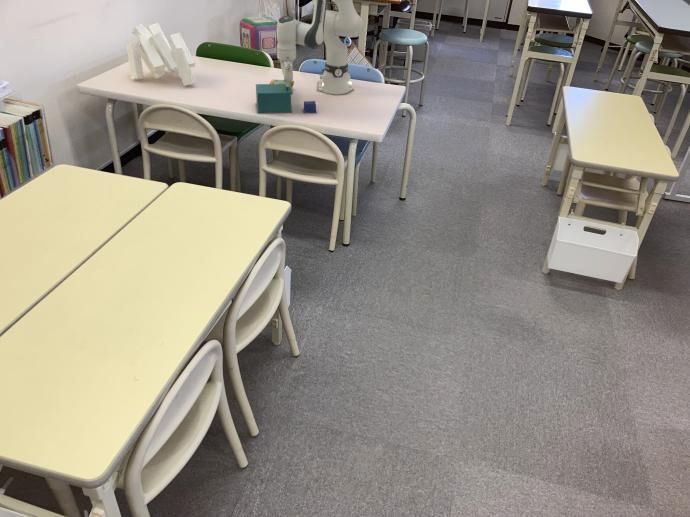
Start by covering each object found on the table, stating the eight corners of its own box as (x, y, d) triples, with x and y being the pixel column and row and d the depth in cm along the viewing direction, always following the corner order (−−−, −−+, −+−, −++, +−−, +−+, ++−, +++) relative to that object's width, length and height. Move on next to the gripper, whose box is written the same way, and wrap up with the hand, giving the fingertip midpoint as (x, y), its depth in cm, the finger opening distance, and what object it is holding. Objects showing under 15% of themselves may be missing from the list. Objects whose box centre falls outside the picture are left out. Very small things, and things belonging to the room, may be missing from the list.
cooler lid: (289, 85, 270) (289, 75, 267) (292, 94, 260) (292, 83, 257) (255, 85, 267) (255, 75, 264) (257, 95, 257) (257, 84, 254)
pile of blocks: (208, 85, 304) (189, 19, 297) (193, 80, 275) (172, 7, 268) (149, 101, 307) (129, 36, 299) (128, 98, 278) (104, 26, 270)
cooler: (288, 103, 275) (288, 85, 270) (291, 112, 265) (290, 94, 260) (256, 103, 272) (255, 85, 267) (258, 113, 262) (257, 95, 257)
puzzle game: (264, 90, 274) (271, 77, 290) (265, 99, 277) (272, 86, 293) (288, 92, 274) (293, 79, 290) (288, 101, 276) (293, 88, 293)
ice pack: (303, 110, 268) (303, 101, 266) (314, 109, 269) (315, 101, 267) (304, 113, 265) (304, 104, 262) (316, 112, 266) (316, 104, 263)
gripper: (296, 61, 247) (296, 91, 255) (290, 48, 263) (291, 77, 271) (282, 61, 246) (282, 91, 254) (277, 48, 262) (278, 77, 270)
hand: (286, 84), depth 263 cm, fingers closed on cooler lid, 5 cm apart
